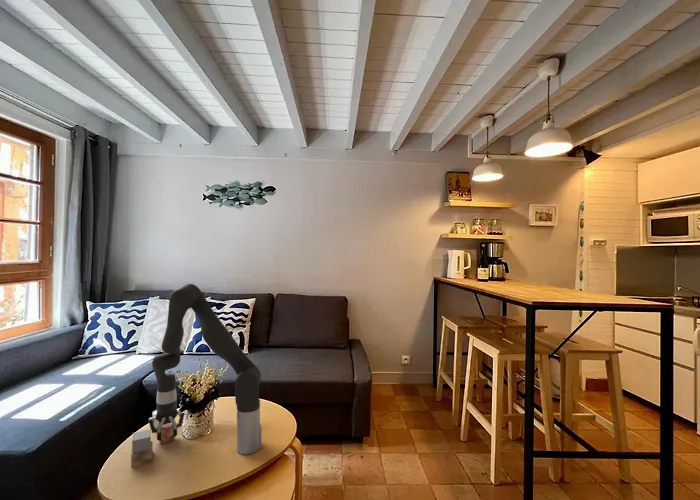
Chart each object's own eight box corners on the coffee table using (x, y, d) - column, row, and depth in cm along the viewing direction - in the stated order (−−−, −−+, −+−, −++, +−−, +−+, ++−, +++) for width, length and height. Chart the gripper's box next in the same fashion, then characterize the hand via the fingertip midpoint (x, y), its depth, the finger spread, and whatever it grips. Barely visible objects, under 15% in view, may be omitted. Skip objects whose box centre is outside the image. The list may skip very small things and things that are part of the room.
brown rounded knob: (173, 436, 156) (173, 422, 156) (174, 441, 152) (174, 428, 152) (160, 439, 154) (160, 425, 153) (160, 445, 149) (160, 431, 149)
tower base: (152, 452, 144) (152, 440, 144) (152, 462, 138) (152, 449, 138) (132, 457, 141) (132, 445, 141) (131, 468, 135) (131, 455, 135)
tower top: (150, 441, 144) (150, 429, 143) (150, 449, 138) (150, 436, 138) (133, 445, 141) (132, 433, 141) (132, 453, 136) (132, 440, 135)
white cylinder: (162, 431, 160) (161, 415, 160) (148, 429, 161) (148, 414, 161) (172, 423, 167) (172, 408, 166) (159, 421, 168) (159, 407, 168)
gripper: (184, 392, 159) (184, 430, 160) (147, 399, 152) (147, 438, 152) (186, 399, 152) (186, 438, 153) (147, 407, 145) (147, 448, 146)
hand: (167, 438), depth 153 cm, fingers closed on brown rounded knob, 5 cm apart
